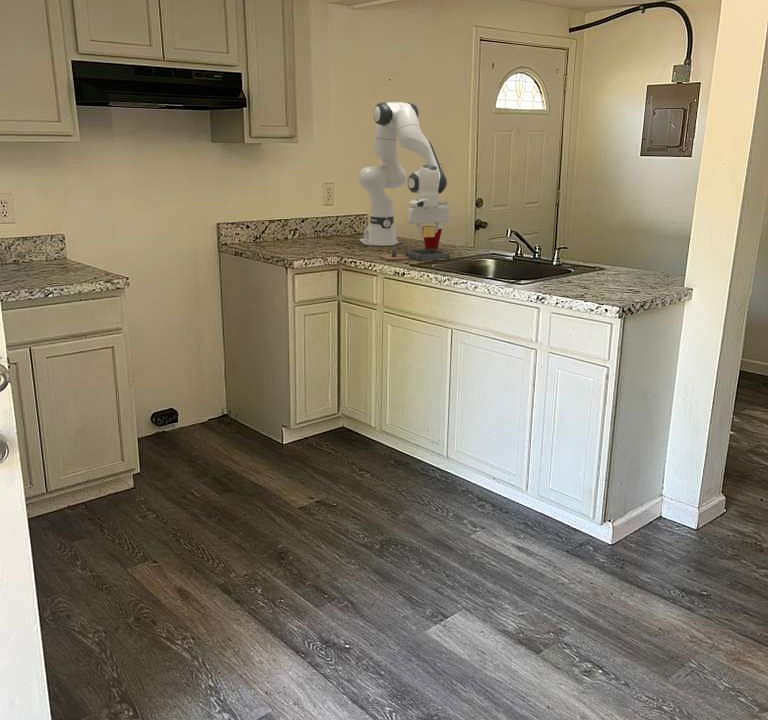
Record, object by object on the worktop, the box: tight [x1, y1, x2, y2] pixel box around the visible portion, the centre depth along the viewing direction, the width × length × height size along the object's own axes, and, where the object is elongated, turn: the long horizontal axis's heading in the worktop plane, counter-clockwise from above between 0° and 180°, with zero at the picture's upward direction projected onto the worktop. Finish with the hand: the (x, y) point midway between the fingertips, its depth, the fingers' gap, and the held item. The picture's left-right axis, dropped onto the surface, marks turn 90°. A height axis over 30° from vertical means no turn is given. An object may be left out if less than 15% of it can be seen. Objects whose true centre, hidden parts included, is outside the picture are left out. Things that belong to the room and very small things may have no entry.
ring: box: [420, 225, 435, 238], centre depth 348 cm, size 6×6×4 cm
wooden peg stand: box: [377, 244, 411, 262], centre depth 349 cm, size 11×11×6 cm
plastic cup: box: [423, 224, 444, 250], centre depth 371 cm, size 11×11×12 cm
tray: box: [405, 248, 450, 262], centre depth 352 cm, size 15×15×3 cm
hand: (428, 232), depth 348 cm, fingers closed on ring, 6 cm apart
